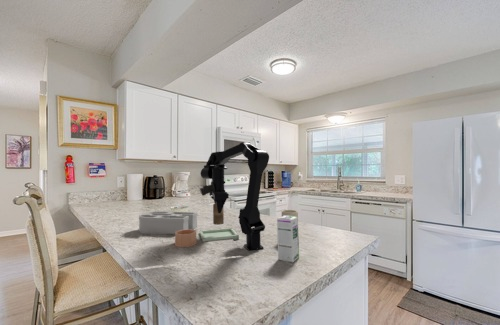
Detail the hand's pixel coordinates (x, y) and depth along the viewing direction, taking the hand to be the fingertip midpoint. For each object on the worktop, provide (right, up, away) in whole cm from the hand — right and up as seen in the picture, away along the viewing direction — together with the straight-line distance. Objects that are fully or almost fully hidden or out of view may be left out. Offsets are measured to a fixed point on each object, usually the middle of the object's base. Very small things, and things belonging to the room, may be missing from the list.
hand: (218, 212), depth 107 cm
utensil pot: (-12, -11, -12) cm, 20 cm away
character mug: (+33, -11, -7) cm, 35 cm away
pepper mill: (0, -5, 0) cm, 5 cm away
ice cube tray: (-29, -13, +12) cm, 34 cm away
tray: (0, -12, 0) cm, 12 cm away
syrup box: (+28, -11, -27) cm, 41 cm away
